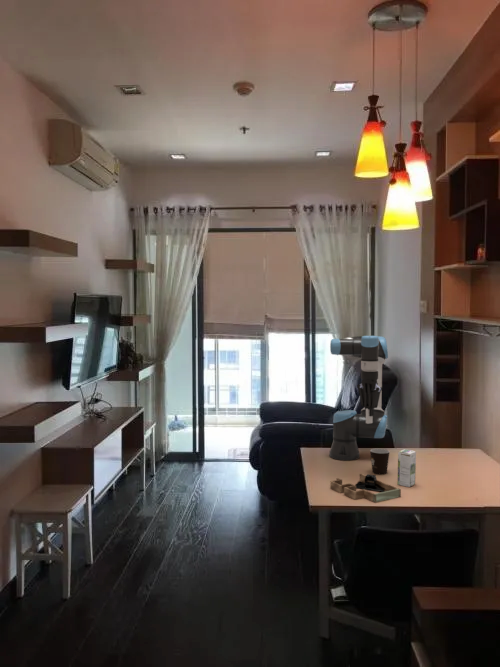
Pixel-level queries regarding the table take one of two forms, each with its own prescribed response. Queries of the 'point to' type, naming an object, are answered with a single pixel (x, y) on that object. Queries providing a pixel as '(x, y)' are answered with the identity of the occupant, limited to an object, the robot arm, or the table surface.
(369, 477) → the black notched block
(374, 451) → the coffee mug
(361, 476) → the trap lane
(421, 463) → the table surface
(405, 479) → the syrup box
